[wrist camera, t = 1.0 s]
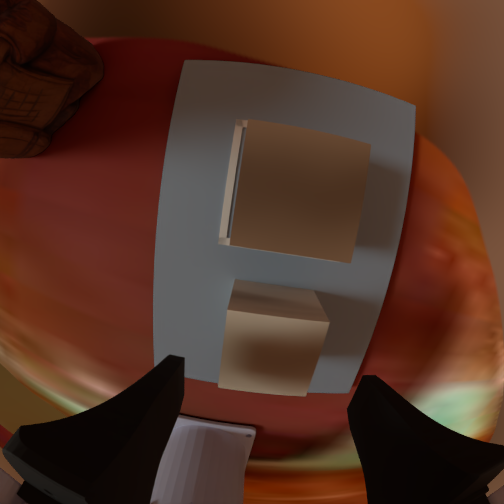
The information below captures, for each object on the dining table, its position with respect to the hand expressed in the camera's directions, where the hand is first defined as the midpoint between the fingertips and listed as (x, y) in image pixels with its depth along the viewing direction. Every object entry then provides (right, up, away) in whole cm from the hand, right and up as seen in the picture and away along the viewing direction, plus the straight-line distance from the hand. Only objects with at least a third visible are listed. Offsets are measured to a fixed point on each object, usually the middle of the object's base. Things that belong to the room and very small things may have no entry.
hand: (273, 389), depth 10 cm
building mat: (+1, +6, +6) cm, 8 cm away
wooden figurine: (-16, +16, +4) cm, 23 cm away
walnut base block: (+1, +9, +4) cm, 10 cm away
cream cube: (0, +1, +6) cm, 6 cm away
